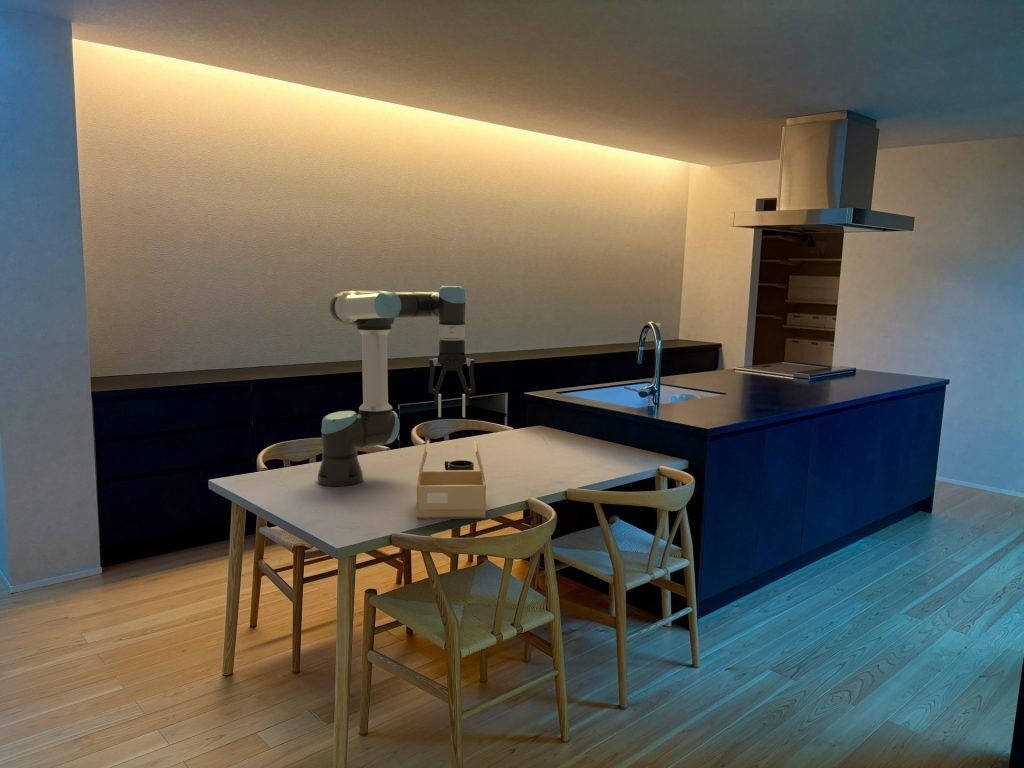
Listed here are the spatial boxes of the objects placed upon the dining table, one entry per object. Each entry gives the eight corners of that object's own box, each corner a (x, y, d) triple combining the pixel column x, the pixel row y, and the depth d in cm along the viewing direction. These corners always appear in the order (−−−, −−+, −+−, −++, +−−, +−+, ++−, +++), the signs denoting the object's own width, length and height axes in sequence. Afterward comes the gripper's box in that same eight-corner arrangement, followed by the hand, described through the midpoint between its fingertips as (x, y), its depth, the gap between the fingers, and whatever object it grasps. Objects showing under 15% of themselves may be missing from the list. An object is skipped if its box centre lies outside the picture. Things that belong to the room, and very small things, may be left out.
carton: (416, 519, 213) (416, 486, 211) (419, 501, 230) (419, 470, 229) (485, 519, 215) (485, 486, 213) (483, 500, 232) (483, 470, 230)
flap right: (482, 467, 229) (475, 439, 227) (484, 480, 214) (477, 451, 213) (481, 467, 229) (473, 440, 227) (482, 480, 214) (475, 451, 213)
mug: (455, 483, 250) (456, 456, 249) (478, 491, 242) (478, 463, 240) (436, 488, 245) (436, 460, 243) (458, 496, 236) (459, 467, 235)
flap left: (417, 480, 213) (425, 451, 212) (419, 467, 227) (427, 440, 226) (419, 481, 213) (427, 451, 212) (421, 467, 227) (429, 440, 226)
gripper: (418, 339, 210) (418, 418, 214) (485, 340, 212) (484, 418, 215) (419, 337, 218) (419, 413, 221) (484, 338, 219) (483, 414, 223)
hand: (451, 416), depth 218 cm, fingers open, 6 cm apart
